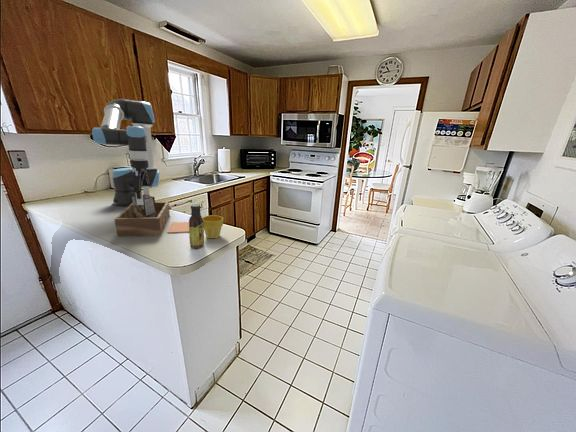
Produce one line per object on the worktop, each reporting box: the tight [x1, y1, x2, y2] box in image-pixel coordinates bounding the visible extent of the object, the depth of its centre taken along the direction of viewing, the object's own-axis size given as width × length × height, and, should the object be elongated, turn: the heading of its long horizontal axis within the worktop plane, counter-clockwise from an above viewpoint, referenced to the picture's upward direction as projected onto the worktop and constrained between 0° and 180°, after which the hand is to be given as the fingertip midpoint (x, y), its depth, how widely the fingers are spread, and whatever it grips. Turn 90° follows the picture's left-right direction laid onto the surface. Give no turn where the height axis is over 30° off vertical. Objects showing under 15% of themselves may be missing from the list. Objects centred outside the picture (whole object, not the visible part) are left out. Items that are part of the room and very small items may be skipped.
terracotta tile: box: [167, 221, 189, 234], centre depth 129 cm, size 14×14×1 cm
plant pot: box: [202, 214, 224, 239], centre depth 120 cm, size 10×10×10 cm
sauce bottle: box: [188, 203, 205, 250], centre depth 107 cm, size 6×6×20 cm
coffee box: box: [132, 193, 156, 218], centre depth 125 cm, size 9×6×16 cm
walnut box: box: [114, 201, 171, 238], centre depth 126 cm, size 28×18×9 cm, turn 17°
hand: (143, 201), depth 123 cm, fingers open, 13 cm apart
